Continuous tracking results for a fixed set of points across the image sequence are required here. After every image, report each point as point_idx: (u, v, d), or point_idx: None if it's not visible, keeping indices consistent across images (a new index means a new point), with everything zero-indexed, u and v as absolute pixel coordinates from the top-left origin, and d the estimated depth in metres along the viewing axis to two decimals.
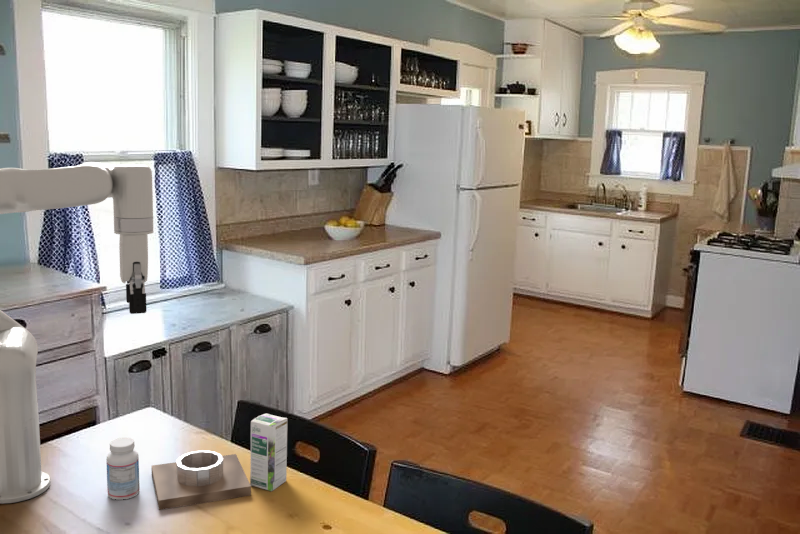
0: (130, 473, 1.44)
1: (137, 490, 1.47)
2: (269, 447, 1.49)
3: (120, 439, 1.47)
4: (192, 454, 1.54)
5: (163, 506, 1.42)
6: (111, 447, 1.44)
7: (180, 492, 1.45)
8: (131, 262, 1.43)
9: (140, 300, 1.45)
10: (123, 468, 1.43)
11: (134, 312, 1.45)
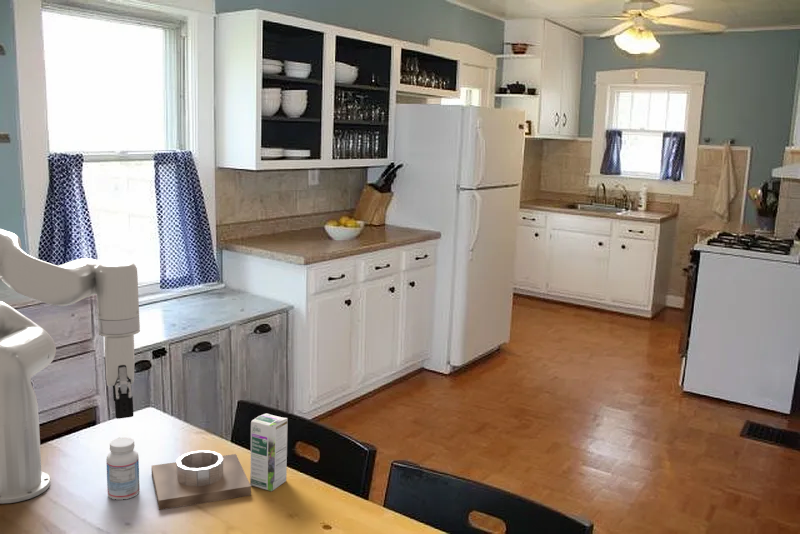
0: (130, 473, 1.44)
1: (137, 490, 1.47)
2: (269, 447, 1.49)
3: (120, 439, 1.47)
4: (192, 454, 1.54)
5: (163, 506, 1.42)
6: (111, 447, 1.44)
7: (180, 492, 1.45)
8: (116, 366, 1.37)
9: (126, 404, 1.38)
10: (123, 468, 1.43)
11: (120, 417, 1.39)
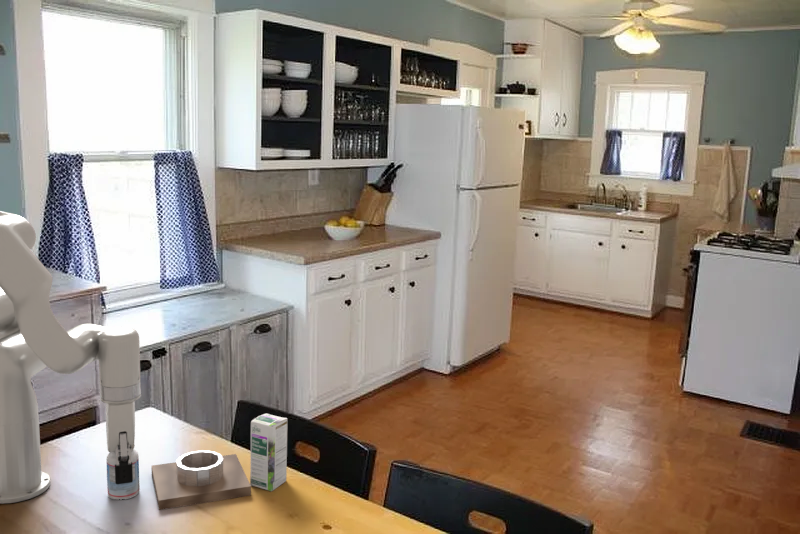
0: None
1: (137, 490, 1.47)
2: (269, 447, 1.49)
3: None
4: (192, 454, 1.54)
5: (163, 506, 1.42)
6: None
7: (180, 492, 1.45)
8: (117, 432, 1.40)
9: (126, 471, 1.42)
10: None
11: (120, 482, 1.43)
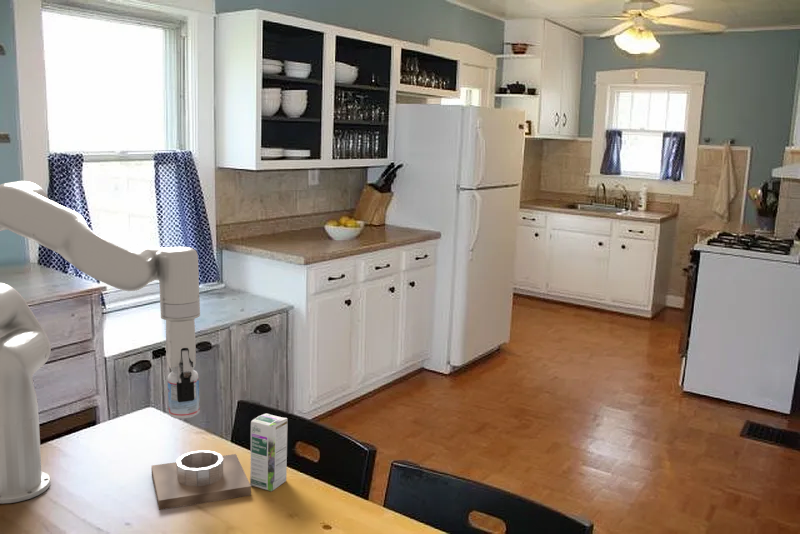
0: None
1: (198, 409, 1.48)
2: (269, 447, 1.49)
3: None
4: (192, 454, 1.54)
5: (163, 506, 1.42)
6: None
7: (180, 492, 1.45)
8: (179, 349, 1.41)
9: (188, 388, 1.43)
10: None
11: (182, 400, 1.44)
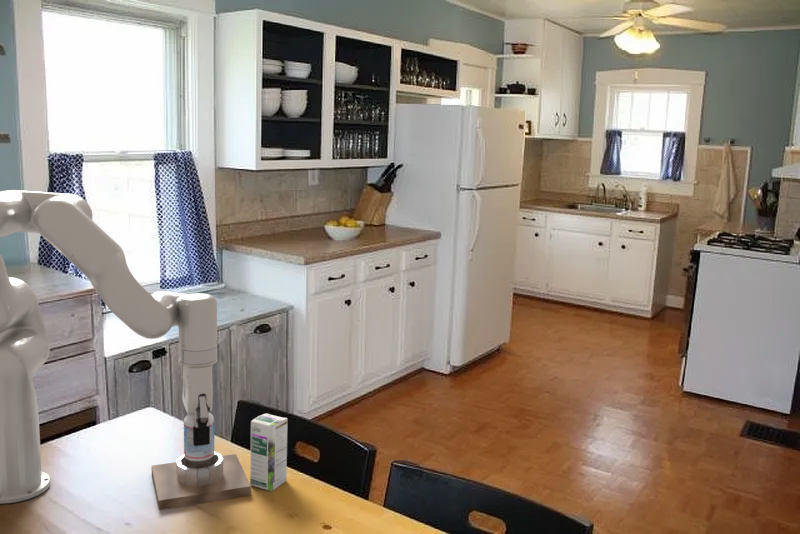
0: None
1: (213, 452, 1.51)
2: (269, 447, 1.49)
3: None
4: None
5: (163, 506, 1.42)
6: None
7: (180, 492, 1.45)
8: (197, 394, 1.44)
9: (204, 433, 1.46)
10: None
11: (198, 444, 1.47)
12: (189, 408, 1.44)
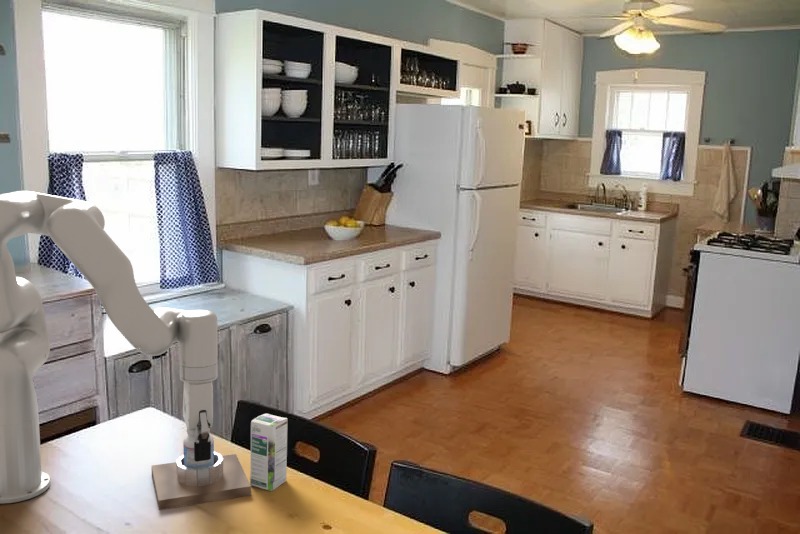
0: None
1: None
2: (269, 447, 1.49)
3: None
4: None
5: (163, 506, 1.42)
6: (189, 430, 1.48)
7: (180, 492, 1.45)
8: (197, 411, 1.44)
9: (205, 448, 1.46)
10: None
11: (199, 460, 1.47)
12: (190, 424, 1.44)
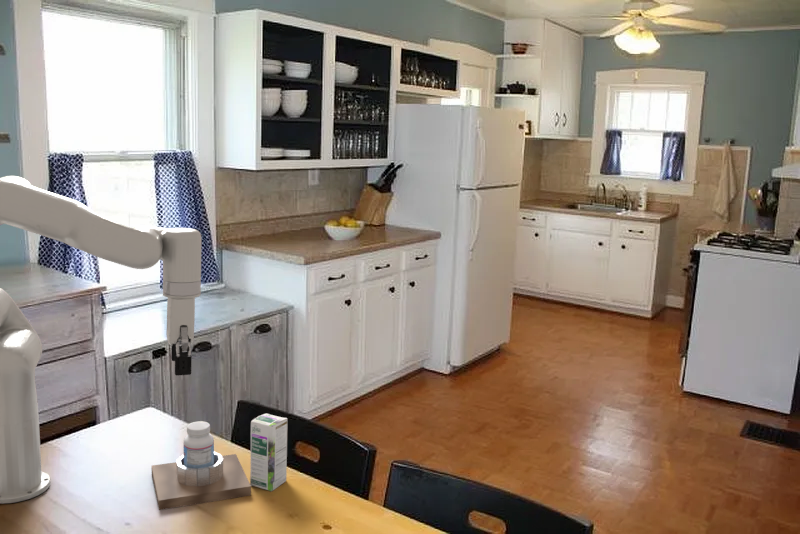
0: (206, 456, 1.49)
1: None
2: (269, 447, 1.49)
3: (196, 422, 1.51)
4: None
5: (163, 506, 1.42)
6: (189, 430, 1.48)
7: (180, 492, 1.45)
8: (178, 325, 1.46)
9: (186, 362, 1.47)
10: (200, 450, 1.48)
11: (179, 374, 1.48)
12: (170, 338, 1.46)
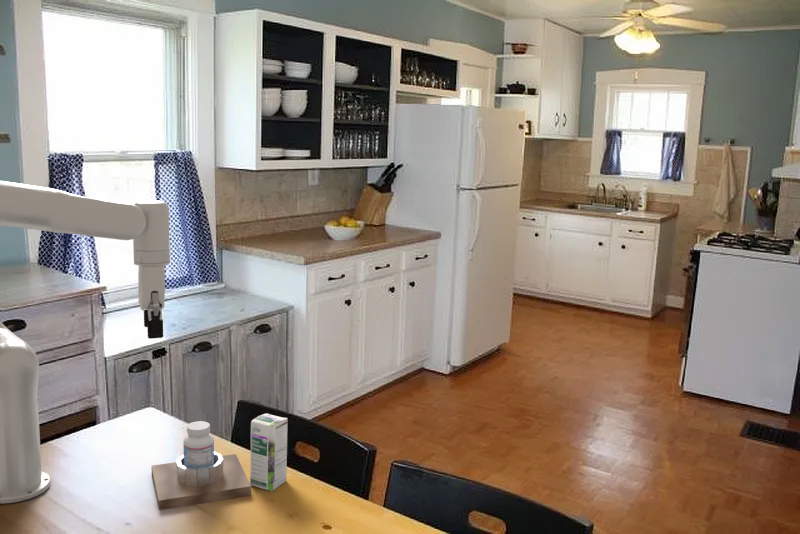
0: (207, 456, 1.49)
1: None
2: (269, 447, 1.49)
3: (196, 422, 1.51)
4: None
5: (163, 506, 1.42)
6: (189, 430, 1.48)
7: (180, 492, 1.45)
8: (149, 291, 1.56)
9: (157, 326, 1.57)
10: (200, 450, 1.48)
11: (152, 337, 1.58)
12: (142, 304, 1.56)
